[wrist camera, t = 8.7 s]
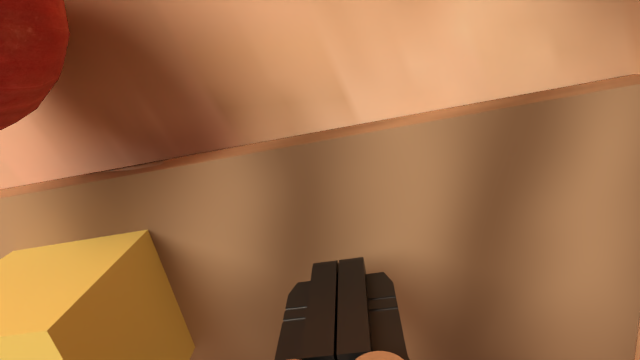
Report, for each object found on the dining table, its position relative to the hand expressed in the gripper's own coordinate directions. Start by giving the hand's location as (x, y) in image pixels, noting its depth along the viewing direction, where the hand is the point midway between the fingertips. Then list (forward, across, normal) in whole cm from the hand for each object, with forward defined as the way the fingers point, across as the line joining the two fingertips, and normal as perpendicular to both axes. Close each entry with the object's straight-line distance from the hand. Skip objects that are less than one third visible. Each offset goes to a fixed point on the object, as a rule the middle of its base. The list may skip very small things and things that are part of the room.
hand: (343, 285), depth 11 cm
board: (+2, +2, +5) cm, 6 cm away
